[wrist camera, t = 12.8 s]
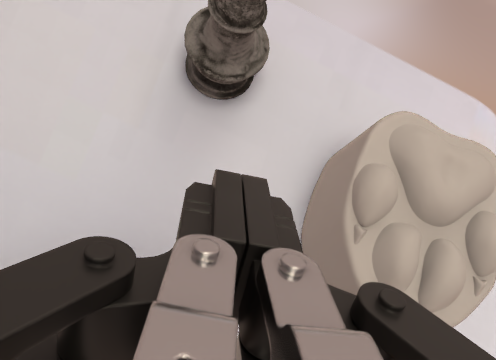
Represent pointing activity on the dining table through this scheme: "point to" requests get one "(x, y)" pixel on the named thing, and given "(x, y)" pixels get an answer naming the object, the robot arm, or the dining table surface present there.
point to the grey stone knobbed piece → (226, 46)
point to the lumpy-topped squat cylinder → (408, 215)
